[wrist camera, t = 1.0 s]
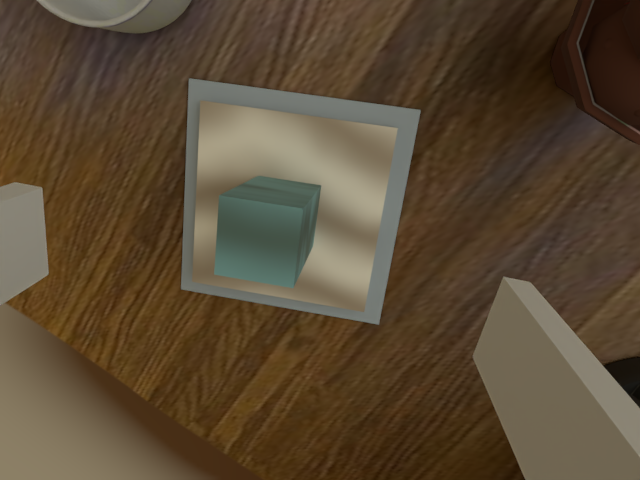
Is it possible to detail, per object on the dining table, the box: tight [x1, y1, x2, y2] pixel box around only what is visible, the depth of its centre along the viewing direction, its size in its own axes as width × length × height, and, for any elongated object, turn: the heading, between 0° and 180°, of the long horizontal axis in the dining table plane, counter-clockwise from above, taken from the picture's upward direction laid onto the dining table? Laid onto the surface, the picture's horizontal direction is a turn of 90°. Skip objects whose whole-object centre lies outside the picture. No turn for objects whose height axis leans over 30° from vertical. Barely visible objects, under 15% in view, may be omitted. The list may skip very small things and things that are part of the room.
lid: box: [192, 100, 398, 312], centre depth 29 cm, size 15×15×10 cm
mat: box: [181, 78, 421, 325], centre depth 34 cm, size 18×18×1 cm
